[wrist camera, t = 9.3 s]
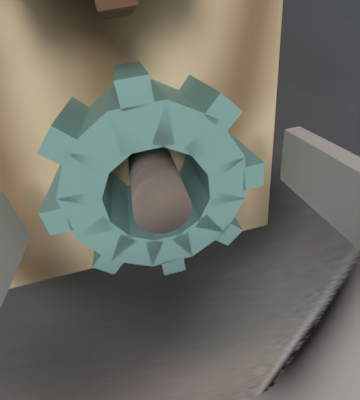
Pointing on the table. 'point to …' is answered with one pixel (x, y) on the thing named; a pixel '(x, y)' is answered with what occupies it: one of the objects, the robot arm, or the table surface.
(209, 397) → the table surface
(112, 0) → the walnut gear
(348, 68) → the table surface
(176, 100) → the teal gear
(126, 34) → the gear board
